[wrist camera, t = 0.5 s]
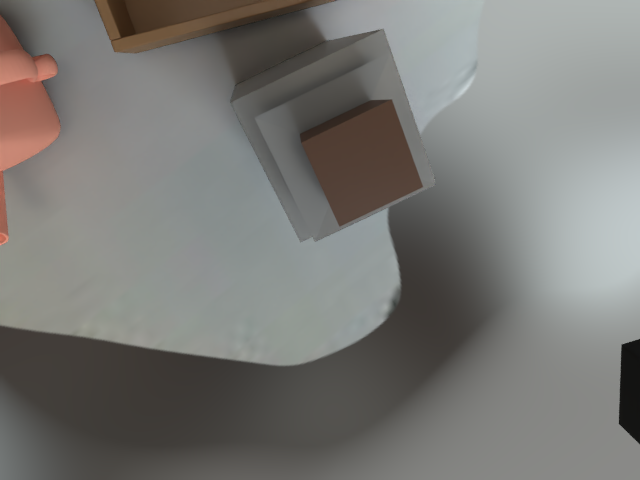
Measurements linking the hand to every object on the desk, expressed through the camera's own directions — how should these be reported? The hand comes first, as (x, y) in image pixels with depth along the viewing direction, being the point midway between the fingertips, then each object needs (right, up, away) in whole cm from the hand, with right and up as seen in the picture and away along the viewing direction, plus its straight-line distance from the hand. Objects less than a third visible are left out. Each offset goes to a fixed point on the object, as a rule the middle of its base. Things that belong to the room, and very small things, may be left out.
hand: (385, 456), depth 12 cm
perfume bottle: (-3, +15, +20) cm, 25 cm away
